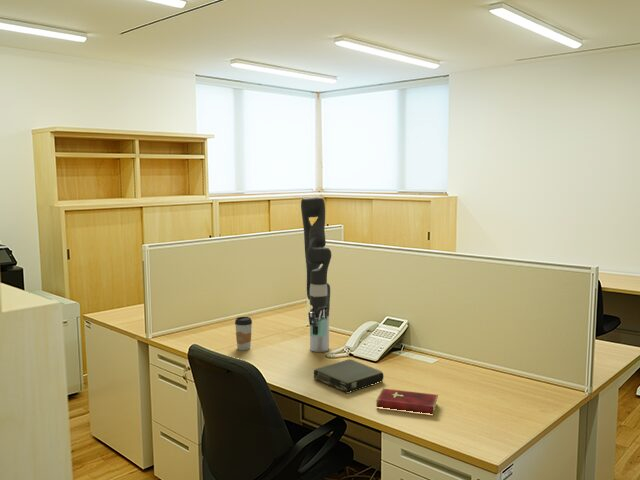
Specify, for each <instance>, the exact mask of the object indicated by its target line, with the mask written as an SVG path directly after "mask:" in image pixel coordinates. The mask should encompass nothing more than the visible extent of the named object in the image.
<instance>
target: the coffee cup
mask: <svg viewBox="0 0 640 480" xmlns="http://www.w3.org/2000/svg"><path fill="white" fill-rule="evenodd" d="M234 325H235V337H236V346H237V350H238V351H239V350H240V351H248V350H250V348H251V346H252V345H251V344H252V343H251V342H252V325H253V320H252V318H251V317H249V316H239V317H236V318H235V321H234Z"/></svg>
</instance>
